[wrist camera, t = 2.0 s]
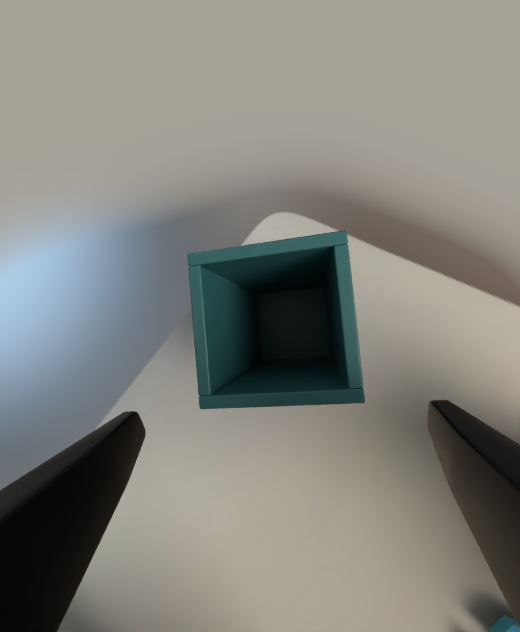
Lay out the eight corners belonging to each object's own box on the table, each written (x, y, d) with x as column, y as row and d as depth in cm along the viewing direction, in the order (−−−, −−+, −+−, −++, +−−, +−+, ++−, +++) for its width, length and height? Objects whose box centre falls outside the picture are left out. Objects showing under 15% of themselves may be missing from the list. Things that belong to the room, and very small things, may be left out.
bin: (338, 361, 20) (365, 403, 9) (257, 366, 21) (199, 409, 11) (329, 279, 20) (346, 229, 10) (250, 289, 22) (186, 253, 11)
